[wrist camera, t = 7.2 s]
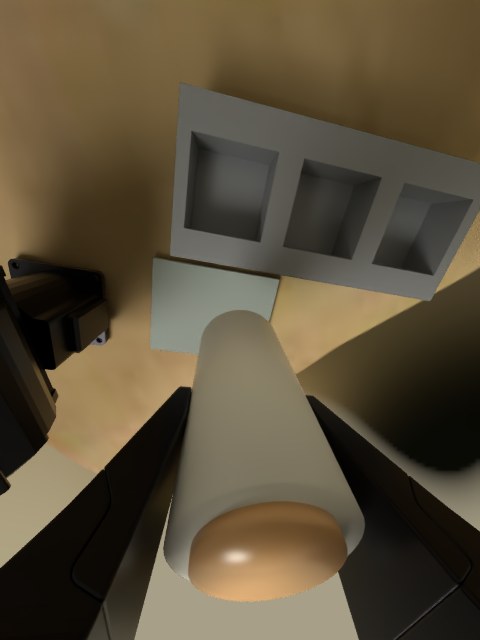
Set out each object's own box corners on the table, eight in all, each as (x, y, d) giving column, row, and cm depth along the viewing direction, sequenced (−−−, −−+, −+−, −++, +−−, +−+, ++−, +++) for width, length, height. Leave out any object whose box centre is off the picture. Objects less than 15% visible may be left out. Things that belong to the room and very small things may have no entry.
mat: (151, 345, 20) (150, 348, 20) (154, 257, 17) (152, 258, 17) (258, 359, 22) (258, 361, 21) (278, 278, 19) (279, 279, 18)
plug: (197, 373, 12) (158, 615, 5) (204, 305, 11) (160, 503, 3) (268, 378, 13) (335, 605, 5) (283, 314, 11) (411, 504, 4)
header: (181, 248, 17) (169, 255, 14) (191, 118, 14) (179, 82, 10) (391, 286, 19) (430, 301, 16) (439, 181, 16) (501, 168, 13)
